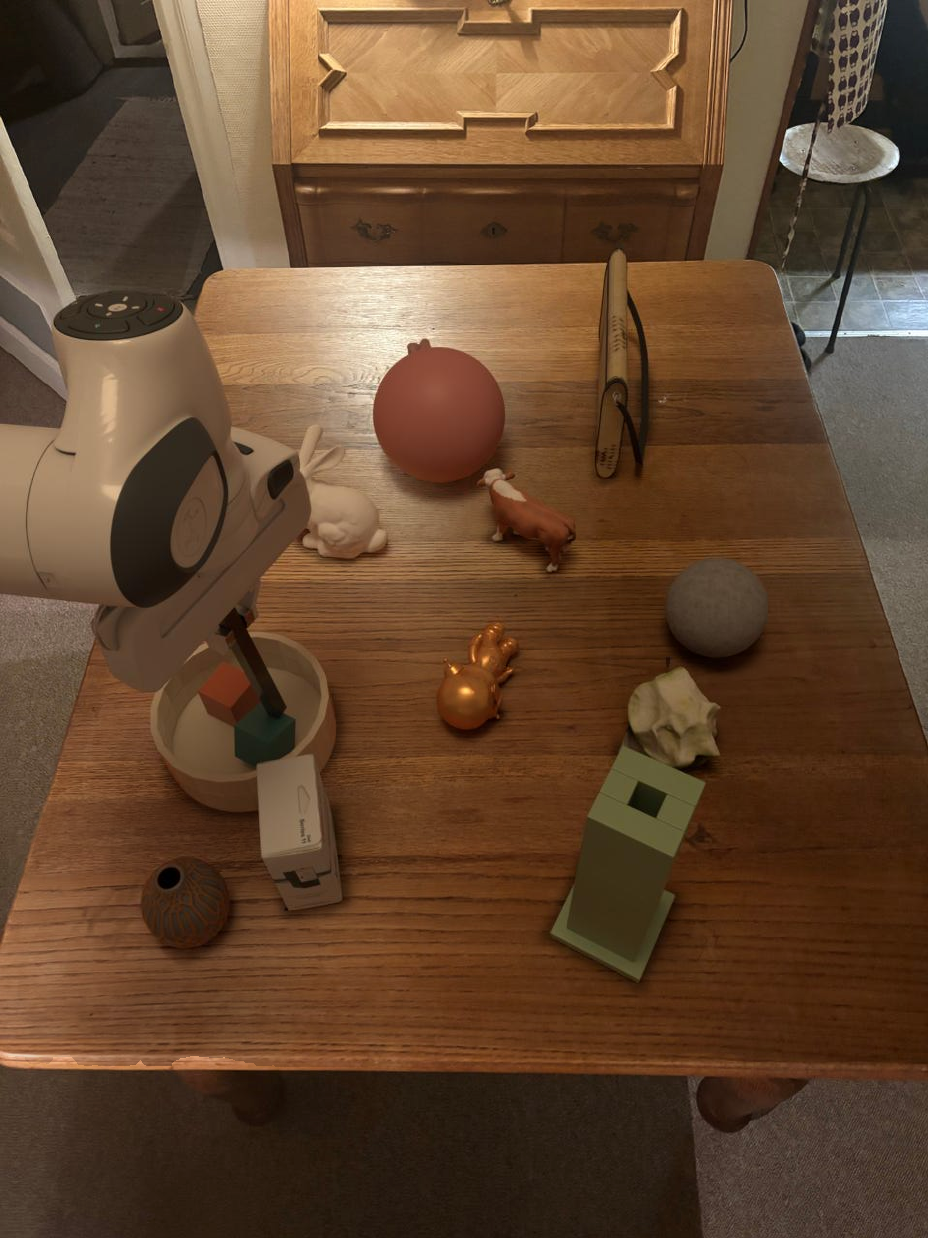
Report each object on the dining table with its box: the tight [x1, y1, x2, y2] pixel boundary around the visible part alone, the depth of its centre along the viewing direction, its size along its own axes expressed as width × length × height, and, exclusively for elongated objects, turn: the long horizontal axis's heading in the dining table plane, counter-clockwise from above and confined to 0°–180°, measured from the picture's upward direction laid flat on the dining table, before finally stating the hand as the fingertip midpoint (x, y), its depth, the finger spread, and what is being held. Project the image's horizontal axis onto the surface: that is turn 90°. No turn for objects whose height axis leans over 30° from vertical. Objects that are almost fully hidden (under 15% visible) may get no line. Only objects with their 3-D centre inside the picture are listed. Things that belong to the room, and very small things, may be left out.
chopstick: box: [219, 607, 287, 719], centre depth 78 cm, size 1×1×18 cm
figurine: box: [435, 621, 520, 730], centre depth 90 cm, size 8×6×12 cm
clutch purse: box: [594, 247, 650, 478], centre depth 112 cm, size 30×7×15 cm, turn 174°
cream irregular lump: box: [618, 656, 722, 770], centre depth 86 cm, size 9×9×8 cm
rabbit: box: [298, 423, 389, 559], centre depth 101 cm, size 12×9×12 cm
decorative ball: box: [664, 557, 770, 659], centre depth 91 cm, size 10×10×10 cm
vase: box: [140, 856, 231, 949], centre depth 75 cm, size 7×7×9 cm
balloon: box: [372, 338, 506, 483], centre depth 108 cm, size 15×20×15 cm
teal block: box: [234, 703, 296, 768], centre depth 85 cm, size 4×4×4 cm
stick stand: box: [549, 746, 707, 984], centre depth 69 cm, size 8×8×22 cm
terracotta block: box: [198, 662, 261, 727], centre depth 89 cm, size 4×4×4 cm
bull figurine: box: [476, 468, 577, 573], centre depth 101 cm, size 4×13×8 cm, turn 46°
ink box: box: [257, 754, 343, 912], centre depth 77 cm, size 9×5×12 cm, turn 10°
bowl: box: [149, 631, 337, 813], centre depth 87 cm, size 16×17×6 cm
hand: (234, 632), depth 74 cm, fingers closed on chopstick, 1 cm apart
